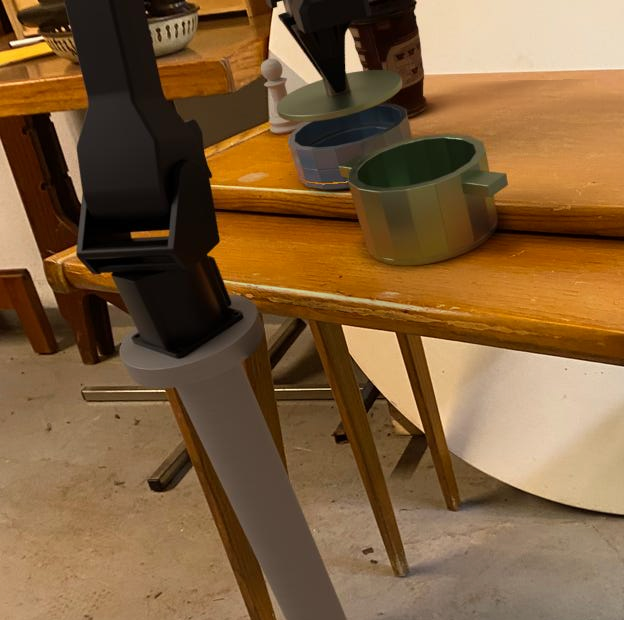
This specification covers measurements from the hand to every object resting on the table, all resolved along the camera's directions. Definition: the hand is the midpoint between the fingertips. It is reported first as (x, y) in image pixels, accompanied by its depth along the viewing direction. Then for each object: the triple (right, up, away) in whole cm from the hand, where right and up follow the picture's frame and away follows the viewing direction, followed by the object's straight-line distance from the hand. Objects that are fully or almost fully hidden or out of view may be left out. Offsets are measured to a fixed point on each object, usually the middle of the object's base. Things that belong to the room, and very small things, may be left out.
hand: (337, 88), depth 91 cm
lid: (0, -1, +1) cm, 1 cm away
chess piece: (-9, +4, +21) cm, 23 cm away
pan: (+1, -6, +5) cm, 8 cm away
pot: (+10, -17, -11) cm, 23 cm away
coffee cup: (+5, +4, +17) cm, 19 cm away
